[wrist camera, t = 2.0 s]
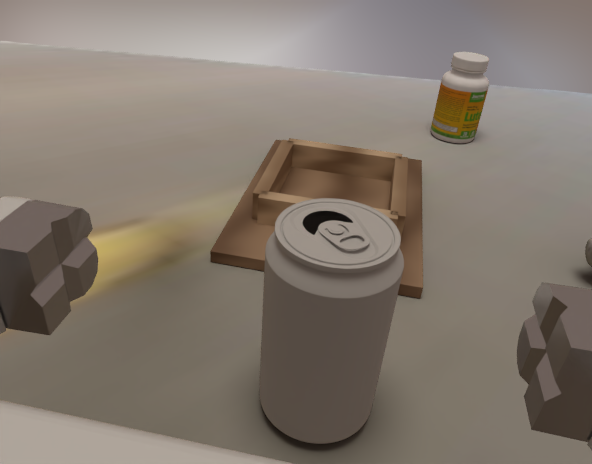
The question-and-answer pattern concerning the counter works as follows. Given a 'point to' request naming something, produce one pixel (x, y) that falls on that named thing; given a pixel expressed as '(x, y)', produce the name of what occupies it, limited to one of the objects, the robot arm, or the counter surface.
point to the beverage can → (326, 316)
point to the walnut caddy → (327, 184)
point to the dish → (589, 252)
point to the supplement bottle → (461, 98)
